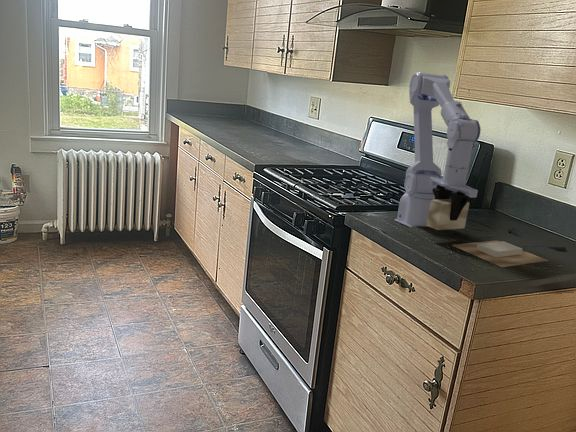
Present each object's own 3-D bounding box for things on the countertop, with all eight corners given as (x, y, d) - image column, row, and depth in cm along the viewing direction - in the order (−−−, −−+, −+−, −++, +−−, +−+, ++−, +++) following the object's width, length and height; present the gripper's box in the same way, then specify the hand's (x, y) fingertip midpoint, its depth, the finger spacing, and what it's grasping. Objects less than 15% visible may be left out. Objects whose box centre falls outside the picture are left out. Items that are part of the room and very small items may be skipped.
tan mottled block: (426, 225, 144) (431, 199, 142) (453, 223, 149) (458, 198, 147) (437, 230, 140) (442, 203, 139) (464, 228, 146) (469, 202, 144)
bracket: (527, 236, 166) (529, 227, 165) (565, 253, 152) (567, 243, 152) (488, 236, 161) (490, 227, 161) (523, 253, 148) (525, 243, 147)
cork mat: (450, 248, 142) (451, 244, 142) (496, 243, 151) (497, 240, 151) (501, 271, 129) (502, 267, 129) (547, 264, 138) (548, 260, 138)
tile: (477, 243, 139) (496, 251, 135) (503, 241, 145) (522, 248, 140) (476, 250, 140) (495, 258, 135) (502, 247, 145) (521, 254, 140)
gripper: (425, 160, 144) (416, 210, 148) (467, 172, 132) (457, 226, 136) (444, 161, 148) (435, 209, 151) (487, 172, 136) (476, 225, 140)
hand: (446, 217), depth 144 cm, fingers closed on tan mottled block, 4 cm apart
